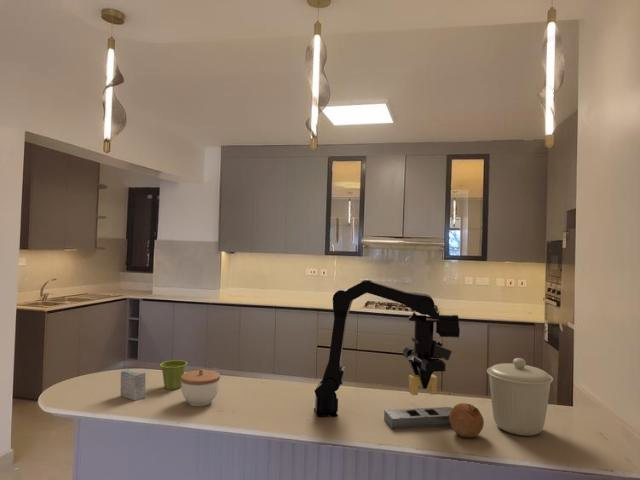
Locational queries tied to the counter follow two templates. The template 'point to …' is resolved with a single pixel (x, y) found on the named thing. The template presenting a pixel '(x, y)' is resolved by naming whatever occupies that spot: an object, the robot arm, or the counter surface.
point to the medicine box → (133, 384)
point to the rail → (417, 417)
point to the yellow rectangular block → (415, 382)
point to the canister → (519, 397)
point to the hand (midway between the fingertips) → (422, 386)
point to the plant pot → (173, 373)
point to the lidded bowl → (200, 386)
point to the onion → (466, 420)
